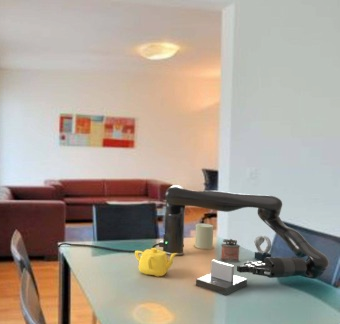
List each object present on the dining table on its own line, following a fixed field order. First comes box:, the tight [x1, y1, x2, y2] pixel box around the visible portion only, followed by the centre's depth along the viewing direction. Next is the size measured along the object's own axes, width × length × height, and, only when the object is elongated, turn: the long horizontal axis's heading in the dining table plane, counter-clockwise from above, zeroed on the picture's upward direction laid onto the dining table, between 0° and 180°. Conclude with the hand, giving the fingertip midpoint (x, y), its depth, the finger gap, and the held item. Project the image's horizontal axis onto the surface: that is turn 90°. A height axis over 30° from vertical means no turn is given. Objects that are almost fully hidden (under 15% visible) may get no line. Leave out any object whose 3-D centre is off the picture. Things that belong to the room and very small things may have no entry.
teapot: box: [134, 247, 178, 278], centre depth 158 cm, size 14×13×10 cm
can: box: [194, 223, 215, 250], centre depth 202 cm, size 9×9×12 cm
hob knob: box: [210, 259, 235, 282], centre depth 145 cm, size 8×2×6 cm, turn 42°
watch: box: [253, 235, 272, 262], centre depth 182 cm, size 6×8×11 cm
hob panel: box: [195, 273, 248, 296], centre depth 145 cm, size 16×13×3 cm
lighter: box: [220, 238, 240, 263], centre depth 178 cm, size 8×3×10 cm, turn 84°
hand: (238, 269), depth 143 cm, fingers closed
